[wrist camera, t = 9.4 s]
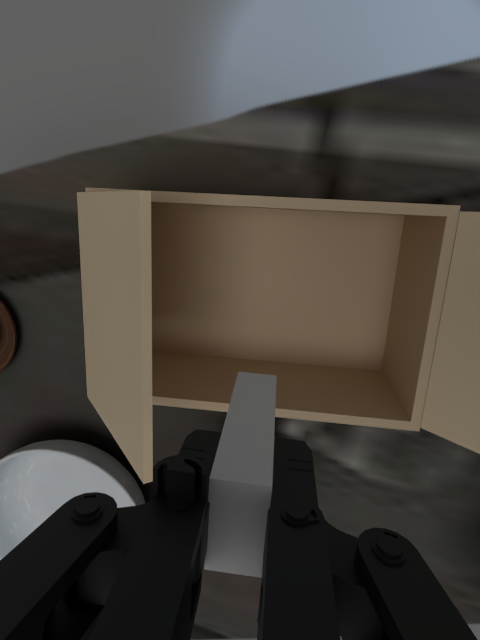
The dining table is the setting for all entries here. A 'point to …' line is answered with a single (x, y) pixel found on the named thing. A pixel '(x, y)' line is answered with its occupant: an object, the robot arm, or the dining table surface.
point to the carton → (298, 302)
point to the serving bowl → (55, 484)
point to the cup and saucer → (6, 336)
